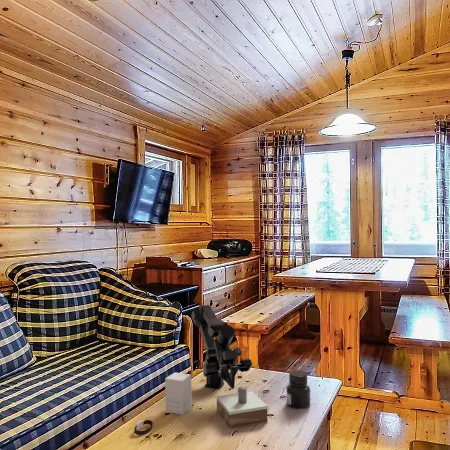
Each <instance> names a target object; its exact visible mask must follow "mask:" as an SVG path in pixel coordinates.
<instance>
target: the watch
mask: <svg viewBox="0 0 450 450" xmlns="http://www.w3.org/2000/svg"><path fill="white" fill-rule="evenodd" d="M153 424H154V422H153V420H151V419H145V420H143V419H142V420H141V419H140V420H138V422H137V424H136V425H135V426H134V428H133V429H134V431H133V432H134V434H135V435H136V436H143V435H146V434H147V433H149V432H150V431H151V430H152V427H153ZM145 425H149V427H148V428H146V429H144V430H141V429H142V428H143V426H145Z"/></svg>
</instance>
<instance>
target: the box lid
mask: <svg viewBox="0 0 450 450" xmlns="http://www.w3.org/2000/svg"><path fill="white" fill-rule="evenodd" d="M217 400H218V401H219V402H220V404H221V405H222V406H223V407H224V409H225V410H226V411H227V412H228V413H229V415H232V414H238V413H244V412H250V411H256V410H263V409H267V410H268V405H267V404H266V403H265V402H264V401H263V400H262V399H261V398H260V397H259V396H257V394H256V393H255V392H253V391H247V387H246V386H238V388H237V393H230V394H225V395H224V394H223V395H218V396H216V401H217Z"/></svg>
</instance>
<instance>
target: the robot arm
mask: <svg viewBox="0 0 450 450" xmlns="http://www.w3.org/2000/svg"><path fill="white" fill-rule="evenodd" d="M191 320H192V321H193V323H194V325H195V326H196V327H197V328H198V329H199V331H200V334H201V337H202V341H203V343H204V344H203V345H204V347H205V351H206V354H205V355H206V356H205V360H204V362H203V365H202V372H203V373H202V374H203V376H204V378H206V383H205V384H204V387H205V388H210V389H211V388H212V389H216V390H217V389H220V388H221V387H223V386H224V385H225V383H226V384H227V385H228V386H229V388H230V389H231V390H234V389H235V383H236V382H235V381H236V375H237V373H238V371H239V372H241V373H243V372H249V371H250V370H251V368H252V366H253V361H252V360H251V359H250V358H244V359H240V361H239V362H236V361H237V359H239V357H241V356H242V350H241V347H235V348H233V349H232V348H231V347H230V344H231V342H232V340H233V338H234V335H235V329H234V327H232V326H231V325H229V324H228V322H225V321H224V320H223V319H219V318H218V316H217V315H216V313H215V312H214V310H213V307H212V305H210V304H209V305H208V304H205V305H200V306H199V307H197V308H195V309H194V310H192V312H191ZM235 362H236V363H235ZM224 381H225V382H224Z"/></svg>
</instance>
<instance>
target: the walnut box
mask: <svg viewBox="0 0 450 450" xmlns="http://www.w3.org/2000/svg"><path fill="white" fill-rule="evenodd" d="M216 412H217V414H218V416H220V418H221V419H222V420H223V422H224V423H225V424H226V426H227V428H229V429H236V428H241V427H247V426H253V425H258V424H264V423H268V421H269V420H268V408H267V409H263V410H256V411H250V412H244V413H238V414H232V415H229V413H228V412H227V411H226V410H225V409H224V407H223V406H222V405H221V404H220V402H219V401H218V400H217V399H216Z"/></svg>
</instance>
